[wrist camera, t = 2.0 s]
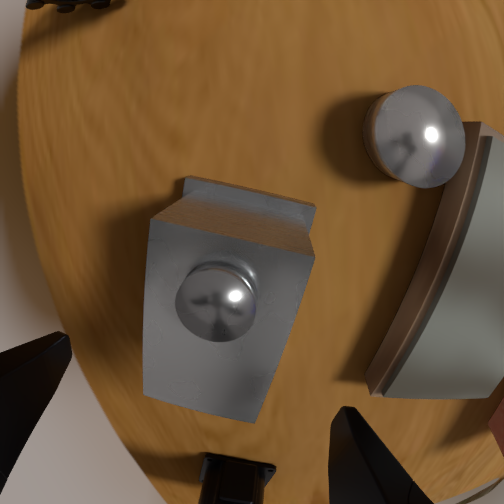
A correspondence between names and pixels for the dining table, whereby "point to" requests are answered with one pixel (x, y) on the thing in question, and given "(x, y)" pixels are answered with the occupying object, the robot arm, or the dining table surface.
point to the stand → (454, 290)
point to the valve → (66, 4)
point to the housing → (222, 295)
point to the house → (498, 425)
